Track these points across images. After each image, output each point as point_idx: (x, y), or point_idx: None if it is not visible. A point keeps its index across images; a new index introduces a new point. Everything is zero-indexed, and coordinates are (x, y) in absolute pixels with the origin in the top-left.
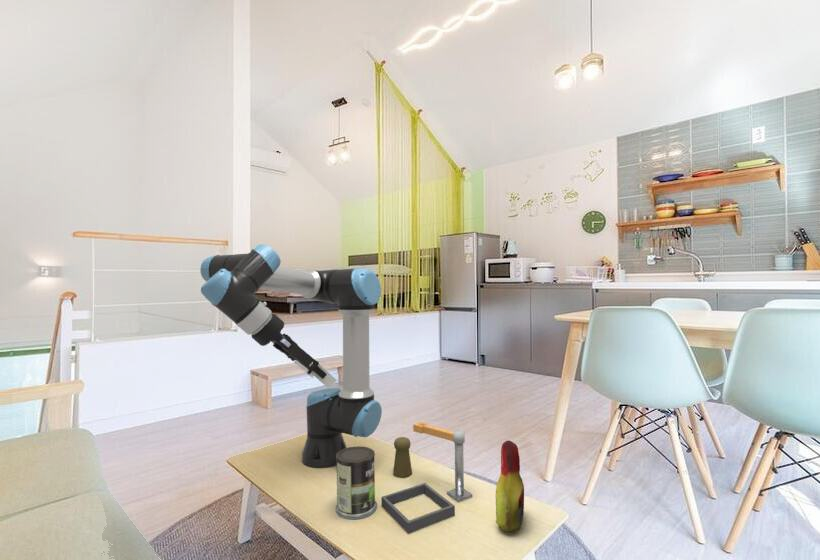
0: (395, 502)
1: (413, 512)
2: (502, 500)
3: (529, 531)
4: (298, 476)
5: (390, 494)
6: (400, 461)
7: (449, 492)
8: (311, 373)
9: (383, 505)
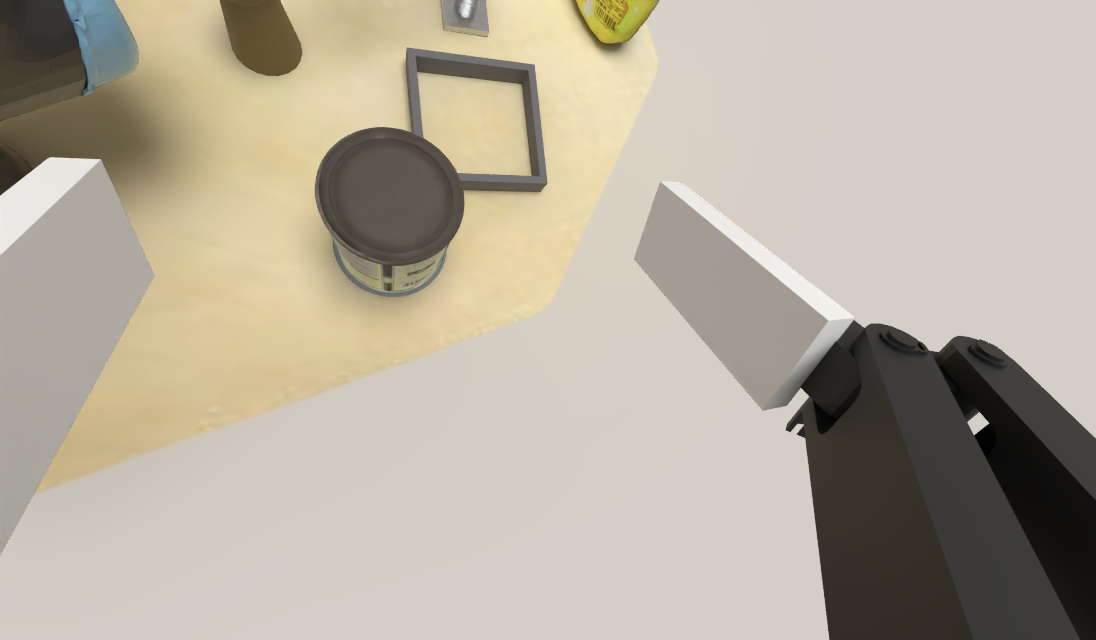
0: None
1: (477, 140)
2: (649, 6)
3: None
4: None
5: None
6: (276, 30)
7: (451, 24)
8: (752, 390)
9: None
